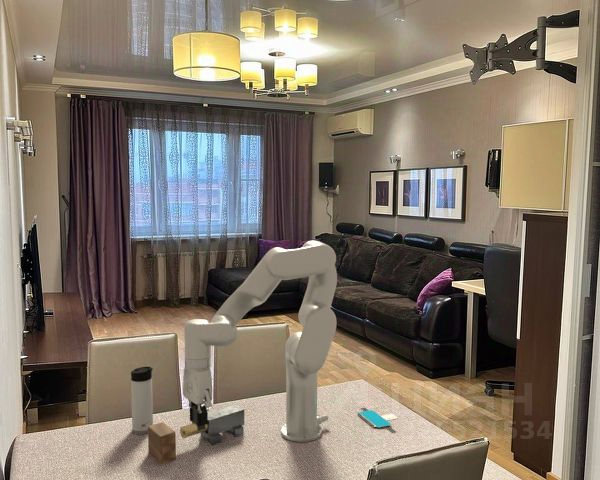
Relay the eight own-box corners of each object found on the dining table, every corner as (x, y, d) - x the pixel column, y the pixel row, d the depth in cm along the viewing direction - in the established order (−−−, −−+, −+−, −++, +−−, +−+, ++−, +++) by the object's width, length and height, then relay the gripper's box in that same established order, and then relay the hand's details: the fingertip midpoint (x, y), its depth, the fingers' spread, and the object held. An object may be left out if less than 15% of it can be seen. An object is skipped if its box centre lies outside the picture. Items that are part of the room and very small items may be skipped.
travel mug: (148, 435, 163) (146, 372, 161) (128, 433, 165) (126, 370, 163) (157, 426, 169) (156, 365, 167) (138, 424, 171) (137, 363, 169)
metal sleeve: (233, 426, 170) (233, 403, 170) (246, 433, 165) (246, 410, 164) (199, 437, 162) (198, 413, 162) (210, 446, 157) (210, 421, 156)
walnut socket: (163, 448, 155) (162, 422, 154) (175, 459, 149) (175, 431, 148) (148, 453, 152) (147, 426, 152) (160, 464, 146) (160, 436, 146)
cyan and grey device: (412, 430, 169) (412, 425, 169) (379, 437, 164) (379, 432, 164) (379, 406, 187) (379, 402, 187) (349, 412, 183) (349, 407, 183)
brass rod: (232, 418, 168) (231, 395, 167) (238, 422, 165) (238, 399, 164) (179, 435, 156) (179, 410, 155) (185, 440, 153) (185, 414, 152)
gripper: (173, 357, 160) (174, 416, 162) (200, 372, 147) (201, 436, 149) (195, 352, 165) (196, 410, 166) (224, 366, 152) (224, 428, 154)
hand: (198, 421), depth 158 cm, fingers closed on brass rod, 3 cm apart
